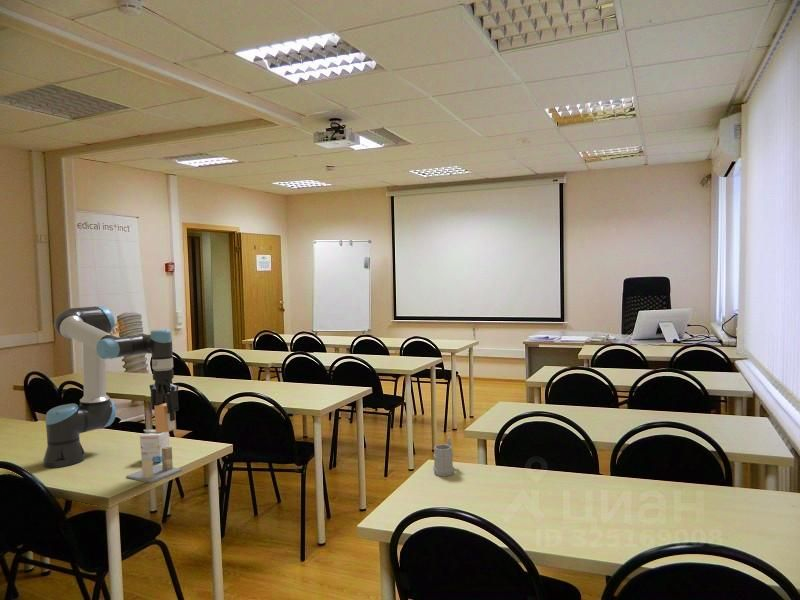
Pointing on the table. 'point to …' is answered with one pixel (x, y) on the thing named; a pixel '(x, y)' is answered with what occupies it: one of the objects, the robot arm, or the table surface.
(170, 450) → the beech post
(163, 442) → the ink box
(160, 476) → the post board
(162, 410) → the peach carton
